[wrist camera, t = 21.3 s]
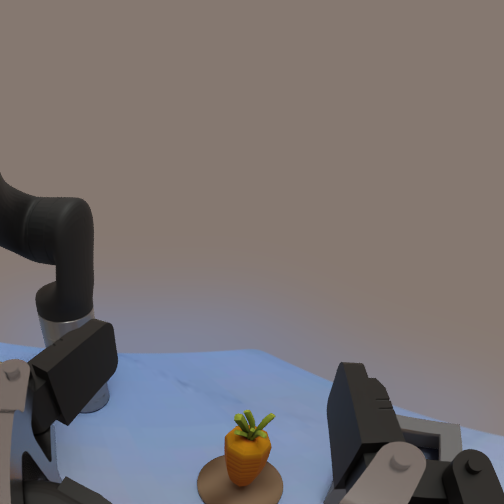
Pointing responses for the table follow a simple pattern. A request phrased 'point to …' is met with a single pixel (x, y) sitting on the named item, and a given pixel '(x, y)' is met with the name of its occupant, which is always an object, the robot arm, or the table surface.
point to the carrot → (247, 449)
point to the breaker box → (419, 443)
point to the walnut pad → (231, 495)
